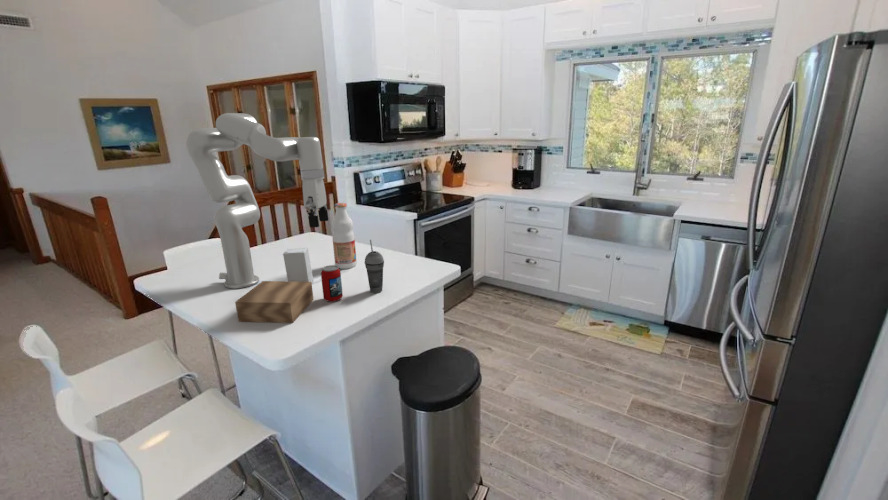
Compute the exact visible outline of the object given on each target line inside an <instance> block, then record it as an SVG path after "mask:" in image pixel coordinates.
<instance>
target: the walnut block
mask: <svg viewBox="0 0 888 500" xmlns="http://www.w3.org/2000/svg"><path fill="white" fill-rule="evenodd" d="M314 300H315V299H314V293H313V284H312V282H292V281H288V280H287V281H286V280H285V281H283V280H282V281H281V280H279V281H278V280H277V281H276V280H273V281H271V280H262V281H261V282H259V283H258V284H256V286H253V288H251V289H250V290H249V291H248V292H247V293H245V294H244V295H242V296H241V297H240V298H239V299H237V300H236V301H235V310H236V315H237V321H238V322H239V323H273V324H274V323H278V324H279V323H280V324H282V323H284V324H285V323H286V324H293V323H294V322H295V321H296V320H297V319H298V318H299V316H301V314H302V313H304V312H305V310H306V309H307V308H308V307H309V306H310V304H311V303H312V302H313V301H314Z"/></svg>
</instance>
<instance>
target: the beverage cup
mask: <svg viewBox="0 0 888 500" xmlns="http://www.w3.org/2000/svg"><path fill="white" fill-rule="evenodd" d="M369 243H370V244H369V245H370V249H371V250H370V251H369V252H368V253H367V254H366V256H365V257H364V258H365V259H364V265H365V269H366V275H367V279H368V281H367V282H368V285H369V286H368V287H369V292H370V293H371V294H379V293H381V292H383V286H384V285H383V284H384V283H383V282H384V266H385V259H384V256H383V255H382V253H381V252H379V251H377V250H375V251H374V249H373V242H372V239H369Z"/></svg>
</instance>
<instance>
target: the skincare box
mask: <svg viewBox="0 0 888 500" xmlns="http://www.w3.org/2000/svg"><path fill="white" fill-rule="evenodd" d="M282 256H283V261H284V267H285V272H286V273H285V274H286V277H287V278H286V279H287V281H292V282H312V285H313V283H314V277H313V276H314V275H313V271H312V270H313V269H312V265H311V258H310V252H309V247H300V248H287V249H286V250H285V251H284V252H283V253H282Z"/></svg>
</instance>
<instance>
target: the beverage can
mask: <svg viewBox="0 0 888 500" xmlns="http://www.w3.org/2000/svg"><path fill="white" fill-rule="evenodd" d="M341 275H342V274H341V269H339V268H338V266H335V264H334V265H331V264H330V265H326V266H323V267H322V270H321V271H320V276H321V277H320V280H321V288H322V297H323V300H324V301H327V302H330V303H332V302H337V301H340V300H341V299H342V298H343V296H344V295H343V286H342V285H343V283H342V282H343V281H342V276H341Z"/></svg>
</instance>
